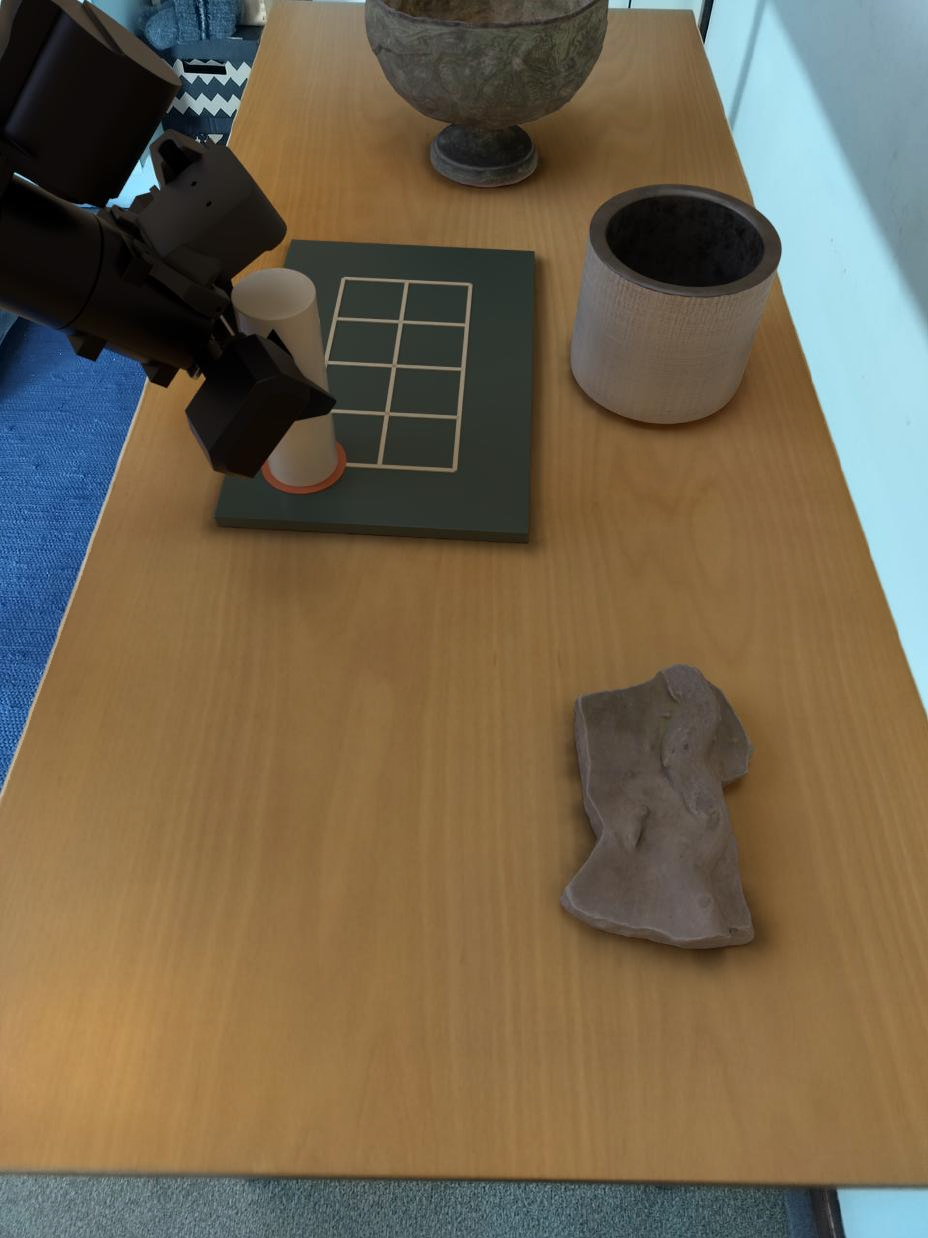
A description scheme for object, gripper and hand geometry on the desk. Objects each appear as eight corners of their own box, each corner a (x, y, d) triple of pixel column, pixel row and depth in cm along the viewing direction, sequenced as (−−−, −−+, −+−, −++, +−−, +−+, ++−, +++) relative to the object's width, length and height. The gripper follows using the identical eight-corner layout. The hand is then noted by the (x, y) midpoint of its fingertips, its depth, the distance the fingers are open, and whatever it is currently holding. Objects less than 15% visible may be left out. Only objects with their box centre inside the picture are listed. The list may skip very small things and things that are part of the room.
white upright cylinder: (305, 498, 59) (274, 330, 48) (253, 465, 60) (212, 296, 50) (352, 457, 61) (333, 288, 50) (301, 427, 62) (272, 257, 52)
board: (216, 526, 59) (213, 514, 58) (292, 249, 76) (290, 237, 75) (527, 543, 58) (529, 531, 58) (534, 261, 75) (535, 248, 75)
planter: (760, 425, 65) (812, 289, 56) (586, 438, 64) (610, 302, 55) (711, 313, 72) (750, 176, 63) (554, 323, 71) (571, 185, 62)
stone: (758, 971, 44) (784, 948, 40) (556, 945, 44) (565, 920, 41) (742, 703, 52) (762, 665, 49) (573, 684, 53) (581, 645, 49)
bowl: (590, 108, 90) (613, -74, 77) (588, 221, 79) (614, 30, 66) (390, 96, 90) (381, -87, 78) (360, 206, 80) (345, 14, 67)
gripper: (233, 227, 36) (471, 362, 48) (91, 32, 45) (322, 188, 57) (98, 443, 40) (348, 516, 52) (-7, 224, 49) (228, 331, 61)
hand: (311, 377), depth 56 cm, fingers open, 5 cm apart
